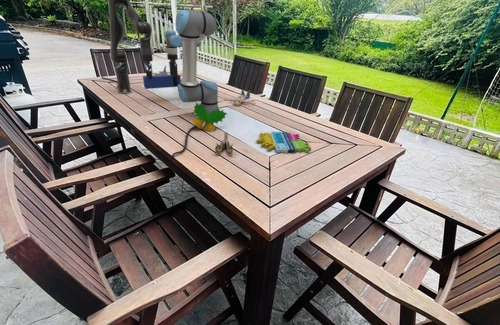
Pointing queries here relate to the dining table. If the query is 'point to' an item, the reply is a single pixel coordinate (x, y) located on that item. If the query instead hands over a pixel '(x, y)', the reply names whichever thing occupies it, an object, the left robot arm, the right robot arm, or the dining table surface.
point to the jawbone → (224, 145)
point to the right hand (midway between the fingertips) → (174, 85)
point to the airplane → (162, 72)
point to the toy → (241, 99)
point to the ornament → (207, 117)
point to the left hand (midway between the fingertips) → (149, 77)
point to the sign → (283, 142)
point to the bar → (160, 81)
